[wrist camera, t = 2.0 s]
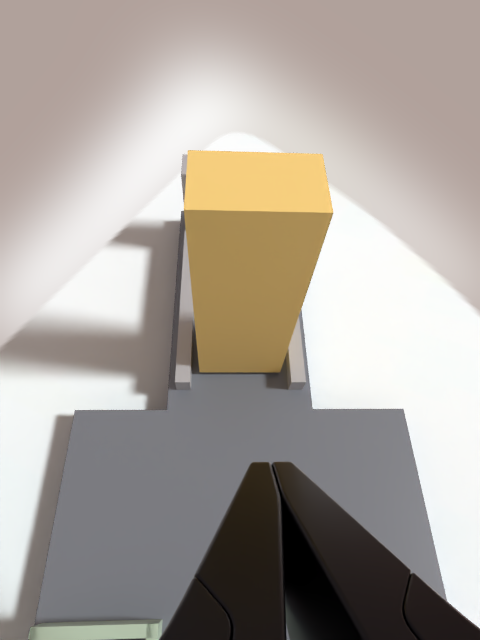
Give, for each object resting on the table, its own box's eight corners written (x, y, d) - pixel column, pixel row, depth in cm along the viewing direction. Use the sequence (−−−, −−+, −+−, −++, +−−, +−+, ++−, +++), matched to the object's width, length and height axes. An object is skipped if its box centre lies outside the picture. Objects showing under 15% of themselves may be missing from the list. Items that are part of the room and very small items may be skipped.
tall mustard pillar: (280, 372, 20) (333, 212, 11) (199, 372, 20) (183, 209, 11) (276, 330, 22) (322, 153, 12) (200, 329, 21) (187, 150, 12)
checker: (514, 967, 12) (728, 1260, 7) (-26, 1008, 12) (-222, 1371, 6) (354, 225, 27) (386, 148, 22) (116, 220, 27) (91, 139, 22)
